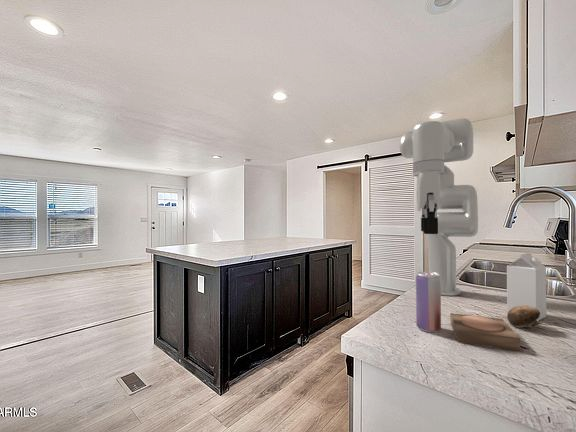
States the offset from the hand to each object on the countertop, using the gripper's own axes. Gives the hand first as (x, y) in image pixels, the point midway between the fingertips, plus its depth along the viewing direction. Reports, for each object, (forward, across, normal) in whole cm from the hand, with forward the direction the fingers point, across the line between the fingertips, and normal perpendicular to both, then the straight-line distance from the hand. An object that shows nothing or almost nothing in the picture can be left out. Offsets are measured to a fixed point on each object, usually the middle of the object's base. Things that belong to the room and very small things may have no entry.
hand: (428, 232), depth 73 cm
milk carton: (+26, -21, +28) cm, 44 cm away
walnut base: (+26, 0, +12) cm, 29 cm away
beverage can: (+26, 0, 0) cm, 27 cm away
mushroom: (+27, -11, +24) cm, 37 cm away
